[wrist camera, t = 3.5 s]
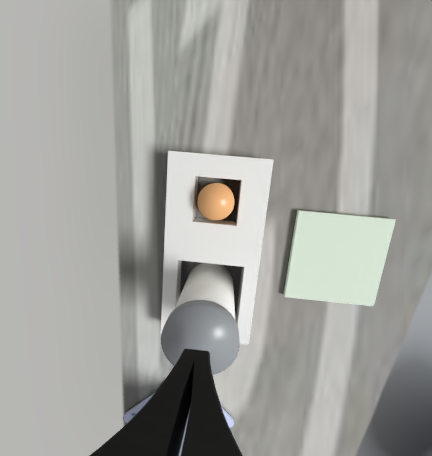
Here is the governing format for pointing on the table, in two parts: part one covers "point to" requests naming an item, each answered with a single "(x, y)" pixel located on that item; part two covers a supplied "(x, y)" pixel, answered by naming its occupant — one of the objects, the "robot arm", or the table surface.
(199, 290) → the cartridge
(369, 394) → the table surface
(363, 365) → the table surface
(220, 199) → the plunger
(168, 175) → the housing
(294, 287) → the mat
